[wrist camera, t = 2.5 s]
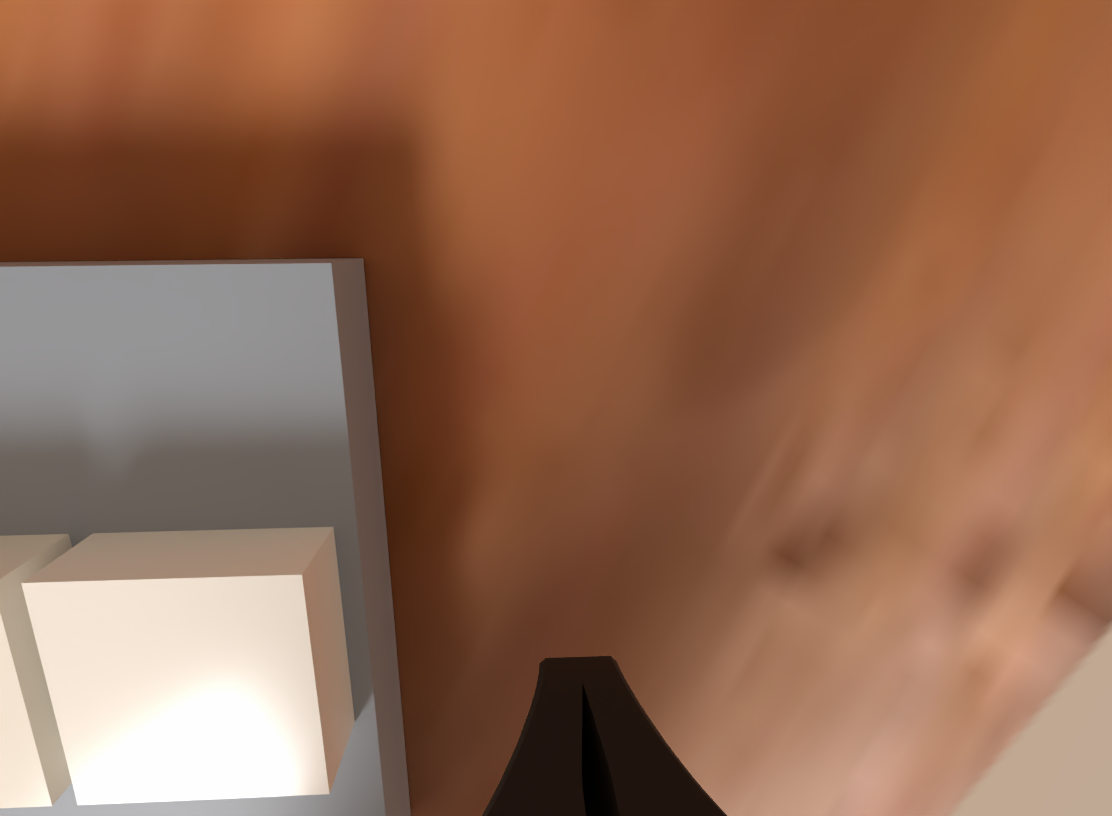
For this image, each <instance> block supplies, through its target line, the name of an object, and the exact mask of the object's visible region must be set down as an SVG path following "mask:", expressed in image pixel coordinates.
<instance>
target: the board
mask: <svg viewBox="0 0 1112 816" xmlns="http://www.w3.org/2000/svg"><path fill="white" fill-rule="evenodd" d="M306 527H334V536H335V545H336V554H337V563H338V572H339V582H340V591H341V600H342V609H343V618H344V627H345V637H346V646H347V655H348V664H349V673H350V682H351V692H352V701H353V710H354V719H355V723H354V726H353V729H352V732H351V735H350V738H349V740H348V743H347V746H346V749H345V752H344V755H343V757H342V760H341V763H340V766H339V769H338V772H337V774H336V777H335V780H334V783H333V786H332V789H331V791H330V794H322V795H299V796H276V797H253V798H230V799H206V800H183V801H160V802H137V803H114V804H91V805H78V804H77V800H76V796H75V792H74V788H73V784H72V783H71V784H70V785H69V786H68V788H67V789H66V790H65V791H64V793H63V794H62V795H61V796H60V797H59V799H58V800H57V801H56V802H55V803H54V805H53V806H45V807H22V808H0V816H411V810H410V798H409V786H408V775H407V763H406V751H405V740H404V728H403V716H402V705H401V693H400V681H399V669H398V658H397V646H396V634H395V623H394V611H393V599H392V588H391V576H390V564H389V553H388V541H387V529H386V518H385V506H384V494H383V482H382V471H381V459H380V447H379V436H378V424H377V412H376V401H375V389H374V377H373V366H372V354H371V342H370V330H369V319H368V307H367V295H366V284H365V272H364V260H363V258H337V259H244V260H150V261H57V262H0V536H10V535H47V534H69V537H70V541H71V546H72V548H73V547H74V546H76V545H77V544H78V543H80V542H81V541H83V540H84V539H86V538H87V537H89V536H90V535H91V534H93V533H121V532H158V531H195V530H232V529H269V528H306Z"/></svg>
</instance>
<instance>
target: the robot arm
mask: <svg viewBox="0 0 1112 816" xmlns="http://www.w3.org/2000/svg"><path fill="white" fill-rule="evenodd" d="M482 816H727V815H726V814H725V813H724V812H723V811H722V810H721V809H720V807H719V806H718V805H717V804H716V803H715V802H714V801H713V800H712V799H711V798H710V797H709V795H708V794H707V793H706V792H705V791H704V790H703V789H702V787H701V786H700V785H699V784H698V783H697V781H696V780H695V779H694V778H693V777H692V775H691V774H690V773H689V772H688V770H687V769H686V768H685V767H684V765H683V764H682V763H681V762H680V760H679V759H678V758H677V757H676V755H675V754H674V752H673V751H672V750H671V748H670V747H669V746H668V744H667V743H666V742H665V740H664V739H663V737H662V736H661V735H660V733H659V732H658V730H657V729H656V727H655V726H654V725H653V723H652V722H651V720H650V719H649V717H648V716H647V714H646V713H645V711H644V710H643V708H642V707H641V705H640V703H639V702H638V700H637V699H636V697H635V695H634V694H633V692H632V690H631V689H630V687H629V685H628V683H627V682H626V680H625V678H624V676H623V674H622V672H621V670H620V668H619V666H618V664H617V662H616V661H615V660H614V659H613V658H612V657H611V656H598V657H569V658H545V659H544V660H543V661H542V662H541V663H540V667H539V676H538V682H537V687H536V691H535V694H534V698H533V701H532V704H531V708H530V711H529V714H528V716H527V719H526V722H525V725H524V727H523V730H522V733H521V736H520V738H519V741H518V743H517V746H516V748H515V750H514V752H513V755H512V757H511V759H510V761H509V763H508V766H507V768H506V770H505V772H504V774H503V777H502V779H501V781H500V783H499V785H498V787H497V789H496V791H495V793H494V795H493V797H492V799H491V800H490V802H489V804H488V806H487V808H486V810H485V811H484V813H483V815H482Z"/></svg>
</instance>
